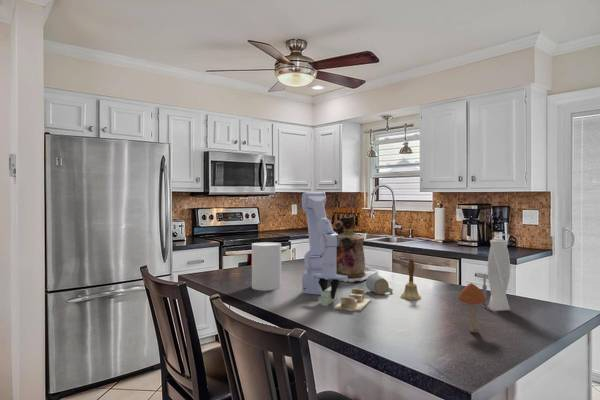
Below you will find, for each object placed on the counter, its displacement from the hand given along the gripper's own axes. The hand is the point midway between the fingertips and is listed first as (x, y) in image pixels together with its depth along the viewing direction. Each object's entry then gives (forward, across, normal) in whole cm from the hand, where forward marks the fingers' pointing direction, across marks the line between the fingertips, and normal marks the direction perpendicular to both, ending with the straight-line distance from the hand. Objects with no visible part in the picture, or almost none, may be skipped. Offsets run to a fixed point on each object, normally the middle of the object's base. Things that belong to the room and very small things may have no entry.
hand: (329, 298), depth 158 cm
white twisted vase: (+2, +61, +15) cm, 63 cm away
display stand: (+1, +10, -1) cm, 10 cm away
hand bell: (+2, +29, +19) cm, 35 cm away
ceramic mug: (+2, +16, +22) cm, 27 cm away
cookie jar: (+2, -7, +50) cm, 50 cm away
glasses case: (+2, 0, 0) cm, 2 cm away
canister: (+2, -35, +13) cm, 37 cm away
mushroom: (+2, +52, -16) cm, 54 cm away
